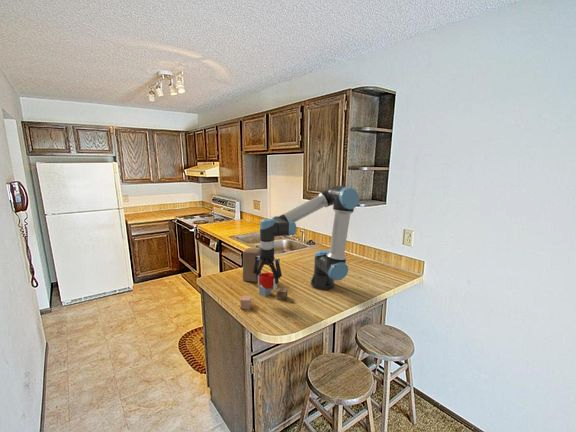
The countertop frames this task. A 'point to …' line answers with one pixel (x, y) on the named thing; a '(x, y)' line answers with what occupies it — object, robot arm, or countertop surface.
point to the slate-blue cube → (264, 291)
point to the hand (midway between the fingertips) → (267, 287)
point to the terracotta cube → (246, 302)
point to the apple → (266, 280)
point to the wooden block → (250, 264)
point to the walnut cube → (282, 293)
